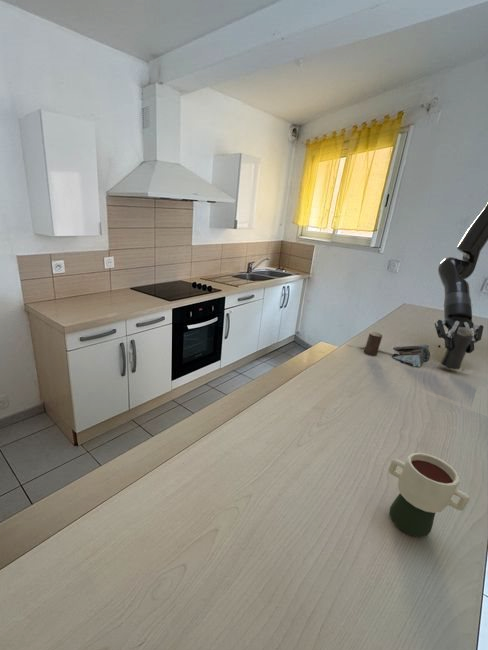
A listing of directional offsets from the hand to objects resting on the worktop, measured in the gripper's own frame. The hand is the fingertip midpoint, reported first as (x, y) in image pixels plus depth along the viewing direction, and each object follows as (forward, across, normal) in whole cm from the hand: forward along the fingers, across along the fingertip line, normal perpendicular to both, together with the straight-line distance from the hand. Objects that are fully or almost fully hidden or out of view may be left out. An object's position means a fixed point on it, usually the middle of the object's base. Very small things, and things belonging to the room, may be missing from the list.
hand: (459, 350), depth 109 cm
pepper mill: (+3, 0, +6) cm, 7 cm away
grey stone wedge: (+3, -13, +9) cm, 16 cm away
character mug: (+57, -33, -45) cm, 79 cm away
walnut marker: (+2, -24, +10) cm, 27 cm away
